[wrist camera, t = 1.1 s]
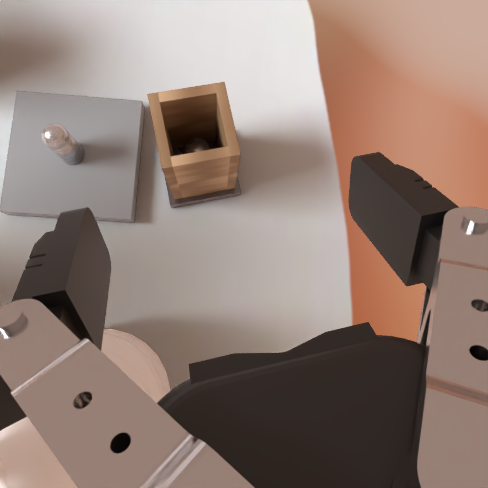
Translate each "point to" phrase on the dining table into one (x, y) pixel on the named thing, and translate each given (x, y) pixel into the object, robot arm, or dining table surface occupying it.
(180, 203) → the grey-brown square knobbed lid
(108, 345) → the honey pot
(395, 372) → the robot arm
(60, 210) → the hub plate
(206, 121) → the oak collar
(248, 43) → the dining table surface
